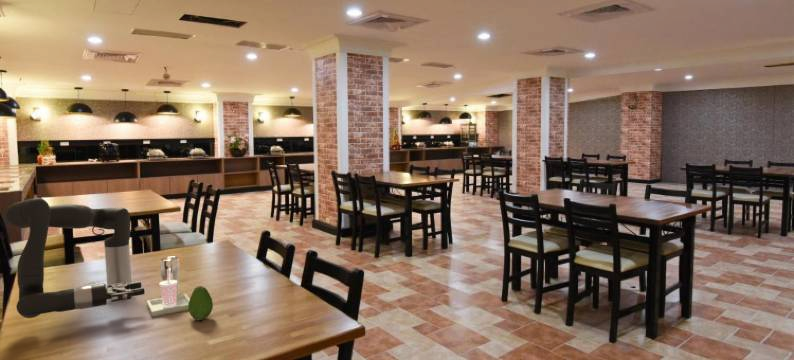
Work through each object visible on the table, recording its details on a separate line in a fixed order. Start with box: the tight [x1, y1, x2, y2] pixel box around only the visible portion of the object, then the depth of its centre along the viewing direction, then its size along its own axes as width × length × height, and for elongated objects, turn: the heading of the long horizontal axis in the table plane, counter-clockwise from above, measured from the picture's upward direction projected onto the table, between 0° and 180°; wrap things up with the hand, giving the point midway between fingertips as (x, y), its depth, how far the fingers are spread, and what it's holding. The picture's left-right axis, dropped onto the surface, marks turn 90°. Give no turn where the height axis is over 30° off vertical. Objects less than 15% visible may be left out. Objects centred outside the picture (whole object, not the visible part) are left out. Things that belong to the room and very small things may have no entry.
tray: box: [145, 293, 191, 318], centre depth 184 cm, size 14×14×2 cm
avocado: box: [187, 285, 214, 321], centre depth 172 cm, size 8×8×12 cm
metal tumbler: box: [159, 255, 181, 295], centre depth 198 cm, size 7×7×15 cm
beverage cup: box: [158, 269, 177, 308], centre depth 184 cm, size 6×6×14 cm
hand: (142, 287), depth 179 cm, fingers open, 8 cm apart
